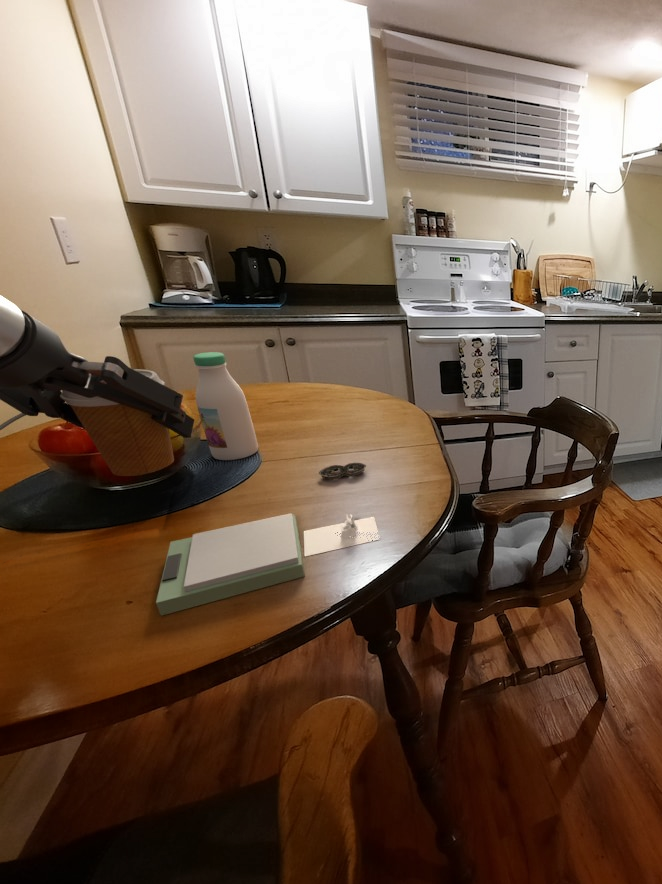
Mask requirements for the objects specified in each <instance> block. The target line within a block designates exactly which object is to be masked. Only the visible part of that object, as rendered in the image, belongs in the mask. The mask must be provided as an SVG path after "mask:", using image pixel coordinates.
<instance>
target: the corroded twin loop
mask: <svg viewBox="0 0 662 884" xmlns="http://www.w3.org/2000/svg"><path fill="white" fill-rule="evenodd" d="M366 467H367V465H366V464H364V463H361V462H349V463H347V464H345V465H341V464H333V465H329V466H327V467H324V468H322V469H320V470H319V471H318V475H320V476H321V478H323V479H326V480H327V479H328V480H331V481H333V480H337V479H340V478H342V477H344V476H346V477H355V476H358V475H360V474H362V473H363V472H364V471H365V468H366Z"/></svg>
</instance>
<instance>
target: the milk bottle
mask: <svg viewBox="0 0 662 884" xmlns="http://www.w3.org/2000/svg"><path fill="white" fill-rule="evenodd" d="M192 359H193V362H194V365H195V368H196V369H197V370H198V381H197V385H196V389H195V404H196V407H197V411H198V414H199V418H200V422H201V425H202V429H203V432H204V435H205V437H206V441H207V444H208V445H207V446H208V448H209V452H210V454H211V456H212V457H213V459H216V460H218V461H234V460H240V459H245V458H247V457H250V456H252V455H254V454H256V453H257V452H258V450H259V442H258V439H257V436H256V432H255V427H254V424H253V420H252V417H251V413H250V409H249V405H248V402H247V399H246V396H245V393H244V391H243V389H242V388H241V386H240V385H239V384H238V382H236V380H235V379H234V378H233V376H232V375H231V374H230V372H229V371H228V369H227V365H228V363H227V360H226V357H225V354H224V353H223V352H219V351H210V352H209V351H207V352H200V353H197V354H195V355H193V357H192Z"/></svg>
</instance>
